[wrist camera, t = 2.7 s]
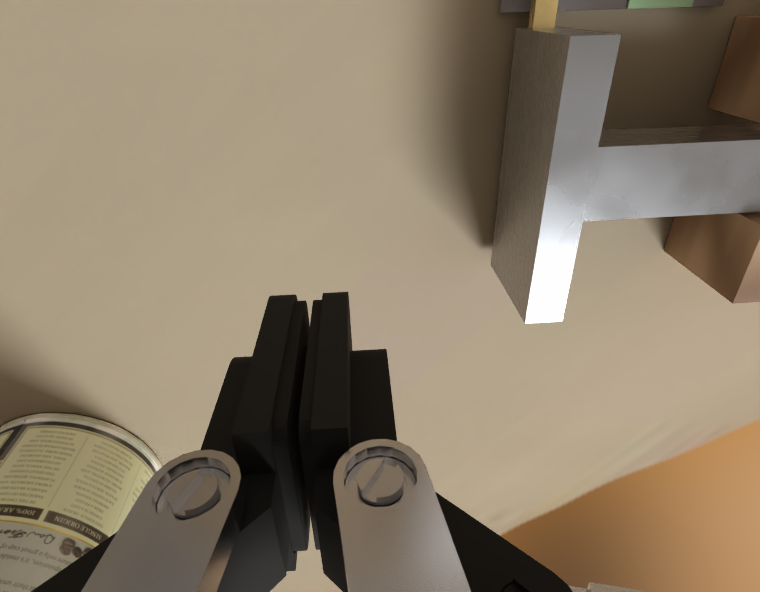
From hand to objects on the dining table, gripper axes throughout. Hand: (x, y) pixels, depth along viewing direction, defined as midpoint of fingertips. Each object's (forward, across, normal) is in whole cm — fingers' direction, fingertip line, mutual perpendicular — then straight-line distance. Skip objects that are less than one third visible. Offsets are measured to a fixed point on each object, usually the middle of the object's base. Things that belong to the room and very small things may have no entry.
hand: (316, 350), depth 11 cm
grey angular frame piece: (+12, -12, -2) cm, 17 cm away
